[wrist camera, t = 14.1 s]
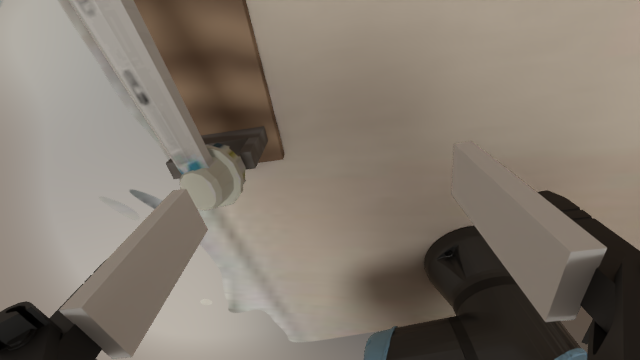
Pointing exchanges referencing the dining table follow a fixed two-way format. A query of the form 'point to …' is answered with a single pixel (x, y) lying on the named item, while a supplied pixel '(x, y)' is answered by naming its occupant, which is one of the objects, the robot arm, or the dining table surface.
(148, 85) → the grey handled tool
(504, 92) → the dining table surface
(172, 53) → the hook board
